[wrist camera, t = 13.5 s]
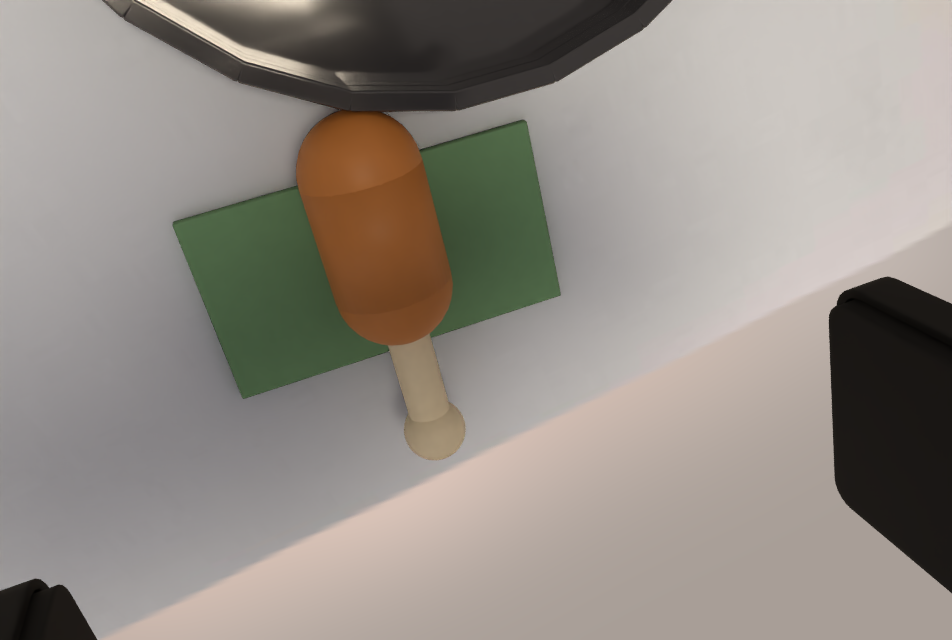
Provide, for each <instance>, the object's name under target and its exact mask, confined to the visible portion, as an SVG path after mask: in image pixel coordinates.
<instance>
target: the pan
mask: <svg viewBox="0 0 952 640" xmlns="http://www.w3.org/2000/svg"><path fill="white" fill-rule="evenodd" d="M102 1H103V2H104V3H106V4H107V5H108V6H109V7H110V8H111V9H112V10H113V11H114V12H116V13H117V14H118V15H119V16H120V17H122V18H123V17H124V20H125V21H127V22H129V23H131V24H133V25H135V26H136V27H138V28H140V29H142V30H144V31H145V32H147V33H149V34H151V35H153V36H154V37H156V38H158V39H160V40H162V41H163V42H165V43H167V44H169V45H171V46H172V47H174V48H176V49H178V50H180V51H182V52H183V53H185V54H187V55H189V56H191V57H192V58H194V59H196V60H198V61H200V62H201V63H203V64H205V65H207V66H209V67H210V68H212V69H214V70H216V71H218V72H220V73H221V74H223V75H225V76H227V77H229V78H230V79H232V80H234V81H238V82H239V83H242V84H246V85H250V86H253V87H257V88H261V89H265V90H269V91H272V92H276V93H280V94H284V95H288V96H291V97H295V98H299V99H303V100H307V101H310V102H314V103H318V104H322V105H326V106H329V107H333V108H337V109H341V110H345V111H349V110H350V111H352V112H397V111H456V110H462V109H466V108H469V107H473V106H476V105H480V104H483V103H487V102H490V101H494V100H497V99H501V98H504V97H507V96H511V95H514V94H518V93H521V92H525V91H528V90H532V89H535V88H539V87H542V86H546V85H549V84H553V83H554V82H557V81H559V80H561V79H563V78H564V77H566V76H567V75H569V74H571V73H572V72H574V71H576V70H577V69H579V68H581V67H582V66H584V65H586V64H587V63H589V62H591V61H592V60H594V59H596V58H597V57H599V56H600V55H602V54H604V53H605V52H607V51H609V50H610V49H612V48H614V47H615V46H617V45H619V44H620V43H622V42H624V41H625V40H627V39H628V38H630V37H632V36H633V35H635V34H637V33H638V32H640V31H642V30H643V29H644V28H645V27H647V26H648V25H649V24H650V23H651V22H652V21H653V20H654V19H655V17H656V16H657V15H658V14H659V13H660V12H661V11H662V10H663V9H664V8H665V7H666V6H667V5H668V4H669V3H670V2H671V1H672V0H102Z"/></svg>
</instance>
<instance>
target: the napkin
mask: <svg viewBox="0 0 952 640" xmlns="http://www.w3.org/2000/svg"><path fill="white" fill-rule="evenodd" d="M419 152H420V154H421V157H422V160H423V164H424V168H425V171H426V175H427V179H428V183H429V187H430V191H431V195H432V199H433V203H434V207H435V211H436V215H437V219H438V223H439V226H440V230H441V234H442V238H443V242H444V246H445V250H446V254H447V258H448V262H449V266H450V270H451V275H452V282H453V288H452V297H451V301H450V305H449V308H448V310H447V312H446V314H445V316H444V317H443V319H442V321H441V322H440V323H439V324H438V325H437V327H436V328H435V329H434V330H433V331H432V332H430V337H434V336H438V335H441V334H444V333H447V332H450V331H453V330H456V329H459V328H462V327H465V326H468V325H471V324H474V323H477V322H480V321H483V320H486V319H490V318H493V317H496V316H499V315H502V314H505V313H508V312H511V311H514V310H517V309H520V308H523V307H526V306H529V305H532V304H535V303H539V302H542V301H545V300H548V299H551V298H554V297H557V296H560V295H561V293H560V288H559V283H558V278H557V273H556V268H555V263H554V258H553V253H552V248H551V243H550V238H549V233H548V228H547V222H546V217H545V212H544V207H543V202H542V197H541V192H540V187H539V182H538V177H537V172H536V167H535V162H534V157H533V152H532V147H531V142H530V137H529V131H528V126H527V122H526V121H525V120H521V121H517V122H514V123H510V124H507V125H503V126H500V127H497V128H493V129H490V130H486V131H483V132H479V133H476V134H473V135H469V136H466V137H462V138H459V139H455V140H452V141H449V142H445V143H442V144H438V145H435V146H431V147H428V148H425V149H421V150H419ZM173 228H174V230H175V233H176V235H177V238H178V240H179V243H180V245H181V248H182V250H183V253H184V255H185V257H186V260H187V262H188V265H189V267H190V270H191V272H192V275H193V277H194V280H195V282H196V285H197V287H198V290H199V292H200V294H201V297H202V299H203V302H204V304H205V307H206V309H207V312H208V314H209V317H210V319H211V322H212V324H213V327H214V329H215V331H216V334H217V336H218V339H219V341H220V344H221V346H222V349H223V351H224V354H225V356H226V359H227V361H228V363H229V366H230V368H231V371H232V373H233V376H234V378H235V381H236V383H237V386H238V388H239V391H240V393H241V396H242V398H243V399H245V398H248V397H251V396H254V395H257V394H260V393H263V392H266V391H269V390H272V389H275V388H278V387H281V386H284V385H288V384H291V383H294V382H297V381H300V380H303V379H306V378H309V377H312V376H315V375H318V374H321V373H324V372H327V371H330V370H333V369H337V368H340V367H343V366H346V365H349V364H352V363H355V362H358V361H361V360H364V359H367V358H370V357H373V356H376V355H379V354H382V353H385V352H389V348H388V345H382V344H378V343H374V342H372V341H369V340H367V339H365V338H363V337H362V336H360V335H359V334H357V333H356V332H355V331H354V330H353V329H351V328H350V327H349V326H348V324H347V323H346V322H345V320H344V319H343V318H342V316H341V314H340V312H339V310H338V307H337V305H336V303H335V300H334V297H333V294H332V290H331V287H330V284H329V281H328V278H327V275H326V272H325V269H324V266H323V263H322V260H321V257H320V254H319V251H318V248H317V244H316V241H315V238H314V235H313V232H312V229H311V226H310V223H309V220H308V217H307V214H306V211H305V208H304V205H303V202H302V198H301V195H300V192H299V189H298V186H294V187H291V188H288V189H284V190H281V191H277V192H274V193H270V194H267V195H264V196H260V197H257V198H253V199H250V200H246V201H243V202H240V203H236V204H233V205H229V206H226V207H222V208H219V209H216V210H212V211H209V212H205V213H202V214H199V215H195V216H192V217H188V218H185V219H181V220H178V221H175V222H173Z"/></svg>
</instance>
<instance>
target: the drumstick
mask: <svg viewBox="0 0 952 640" xmlns="http://www.w3.org/2000/svg"><path fill="white" fill-rule="evenodd" d="M296 180H297V184H298V189H299V192H300V195H301V198H302V202H303V205H304V208H305V211H306V214H307V217H308V220H309V223H310V226H311V229H312V232H313V235H314V238H315V241H316V244H317V248H318V251H319V254H320V257H321V260H322V263H323V266H324V269H325V272H326V275H327V278H328V281H329V284H330V287H331V290H332V294H333V297H334V300H335V303H336V305H337V307H338V310H339V312H340V314H341V316H342V318H343V319H344V320H345V322H346V323H347V324H348V326H349V327H350V328H351V329H353V330H354V331H355V332H356V333H357V334H359V335H360V336H362V337H363V338H365V339H367V340H369V341H372V342H374V343H378V344H382V345H388V348H389V351H390V354H391V357H392V361H393V364H394V367H395V371H396V374H397V377H398V380H399V384H400V387H401V390H402V394H403V397H404V400H405V404H406V407H407V410H408V415H407V418H406V420H405V424H404V435H405V439H406V442H407V444H408V446H409V447H410V448H411V450H412V451H413V452H414V453H415V454H417V455H418V456H420V457H422V458H424V459H428V460H441V459H445V458H447V457H449V456H451V455H452V454H454V453H455V452H456V451H457V450H458V449H459V447H460V446H461V444H462V442H463V440H464V437H465V422H464V419H463V416H462V414H461V412H460V411H459V410H458V409H457V408H456V407H455V406H454V405H453V404H452V403H450V402H448V398H447V395H446V391H445V388H444V384H443V380H442V377H441V373H440V370H439V366H438V362H437V359H436V355H435V351H434V348H433V344H432V341H431V337H430V332H432V331H433V330H434V329H435V328H436V327H437V325H438V324H439V323H440V322H441V321H442V319H443V317H444V316H445V314H446V312H447V310H448V308H449V305H450V301H451V297H452V288H453V282H452V275H451V270H450V266H449V262H448V258H447V254H446V250H445V246H444V242H443V238H442V234H441V230H440V226H439V223H438V219H437V215H436V211H435V207H434V203H433V199H432V195H431V191H430V187H429V183H428V179H427V175H426V171H425V168H424V164H423V160H422V157H421V154H420V152H419V149H418V146H417V144H416V142H415V140H414V139H413V137H412V136H411V134H410V133H409V132H408V131H407V130H406V128H405V127H404V126H403V125H402V124H400V123H399V122H398V121H396V120H395V119H394V118H392V117H391V116H389V115H386V114H384V113H382V112H352V111H350V110H349V111H345V110H340V111H337V112H334V113H332V114H331V115H329V116H327V117H325V118H323V119H322V120H321V121H319V122H318V123H317V124H316V125H315V126H314V127H313V128H312V129H311V130H310V132H309V133H308V134H307V136H306V137H305V139H304V140H303V143H302V145H301V148H300V150H299V153H298V159H297V164H296Z"/></svg>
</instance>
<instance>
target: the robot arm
mask: <svg viewBox="0 0 952 640" xmlns="http://www.w3.org/2000/svg"><path fill="white" fill-rule="evenodd" d="M829 339H830V365H831V390H832V418H833V445H834V470H835V482H836V486H837V489H838V491H839V493H840V495H841V497H842V499H843V500H844V501H845V503H846V504H847V505H848V506H849V507H850V508H851V509H852V510H854V511H855V512H856V513H857V514H858V515H859V516H860V517H862V518H863V519H864V520H865V521H867V522H868V523H869V524H870V525H871V526H873V527H874V528H875V529H876V530H877V531H878V532H880V533H881V534H882V535H883V536H884V537H886V538H887V539H888V540H889V541H890V542H892V543H893V544H894V545H895V546H896V547H898V548H899V549H900V550H901V551H902V552H904V553H905V554H906V555H907V556H908V557H909V558H911V559H912V560H913V561H914V562H915V563H916V564H918V565H919V566H920V567H921V568H922V569H924V570H925V571H926V572H927V573H929V574H930V575H931V576H932V577H933V578H934V579H936V580H937V581H938V582H939V583H940V584H941V585H943V586H944V587H945V588H946V589H947V590H949V591H950V592H951V593H952V304H951V303H949V302H946V301H944V300H942V299H940V298H938V297H935V296H933V295H931V294H929V293H926V292H924V291H922V290H920V289H917V288H915V287H913V286H911V285H909V284H906V283H904V282H902V281H900V280H897V279H895V278H891V277H884V278H880V279H877V280H874V281H871V282H868V283H866V284H863V285H860V286H857V287H854V288H852V289H849V290H846V291H844V292H843V293H842V294H841V295H840V296H839V298H838V301H837V306H835V307H834V308H833V309H832V310H831V312H830V314H829ZM0 640H97V638H96V637H95V635H94V633H93V632H92V630H91V628H90V626H89V625H88V623H87V621H86V619H85V618H84V616H83V614H82V612H81V611H80V609H79V607H78V606H77V604H76V602H75V600H74V599H73V597H72V595H71V594H70V592H69V591H68V589H67V588H66V587H64V586H63V585H56V586H54V587H51V588H49V587H48V586H47V584H46V583H44V582H43V581H42V580H41V579H32V580H30V581H27V582H24V583H21V584H18V585H16V586H13V587H10V588H7V589H4V590H1V591H0Z"/></svg>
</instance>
